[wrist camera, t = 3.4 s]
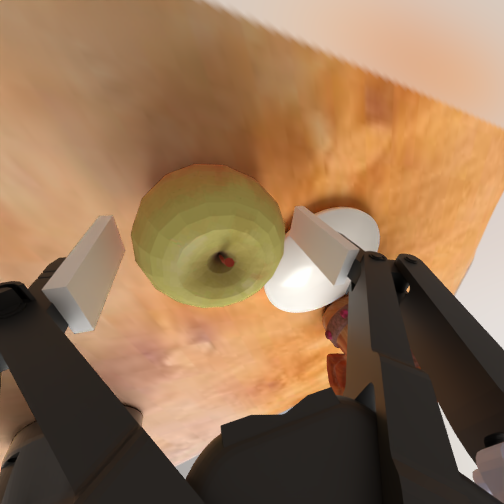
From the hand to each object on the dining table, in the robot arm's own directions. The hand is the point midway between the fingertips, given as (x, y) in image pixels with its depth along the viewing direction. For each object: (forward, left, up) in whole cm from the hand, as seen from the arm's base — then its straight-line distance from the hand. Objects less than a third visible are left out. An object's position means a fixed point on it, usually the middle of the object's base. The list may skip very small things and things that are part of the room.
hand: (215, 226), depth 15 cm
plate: (+13, -7, -2) cm, 15 cm away
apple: (0, 0, -3) cm, 3 cm away
